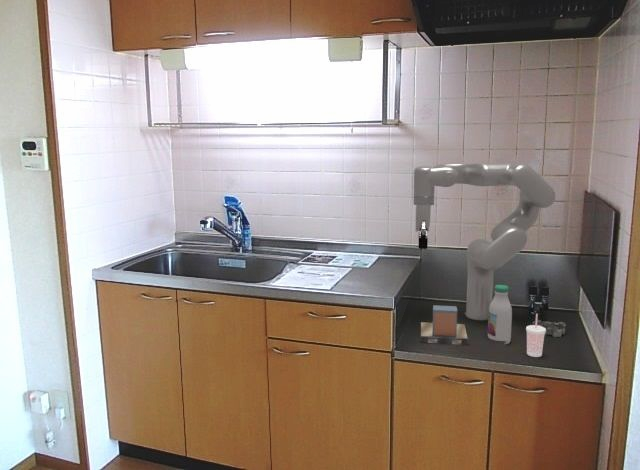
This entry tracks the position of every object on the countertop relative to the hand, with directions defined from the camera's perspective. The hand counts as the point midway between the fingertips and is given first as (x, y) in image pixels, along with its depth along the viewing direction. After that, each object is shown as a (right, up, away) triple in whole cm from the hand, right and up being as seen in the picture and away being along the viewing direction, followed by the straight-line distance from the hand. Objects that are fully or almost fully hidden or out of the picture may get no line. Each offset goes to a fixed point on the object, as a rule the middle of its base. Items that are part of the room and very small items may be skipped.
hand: (422, 245), depth 209 cm
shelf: (+6, -33, -9) cm, 34 cm away
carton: (+5, -32, -14) cm, 35 cm away
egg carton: (+45, -32, -5) cm, 55 cm away
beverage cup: (+32, -36, -24) cm, 54 cm away
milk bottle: (+24, -33, -13) cm, 43 cm away
